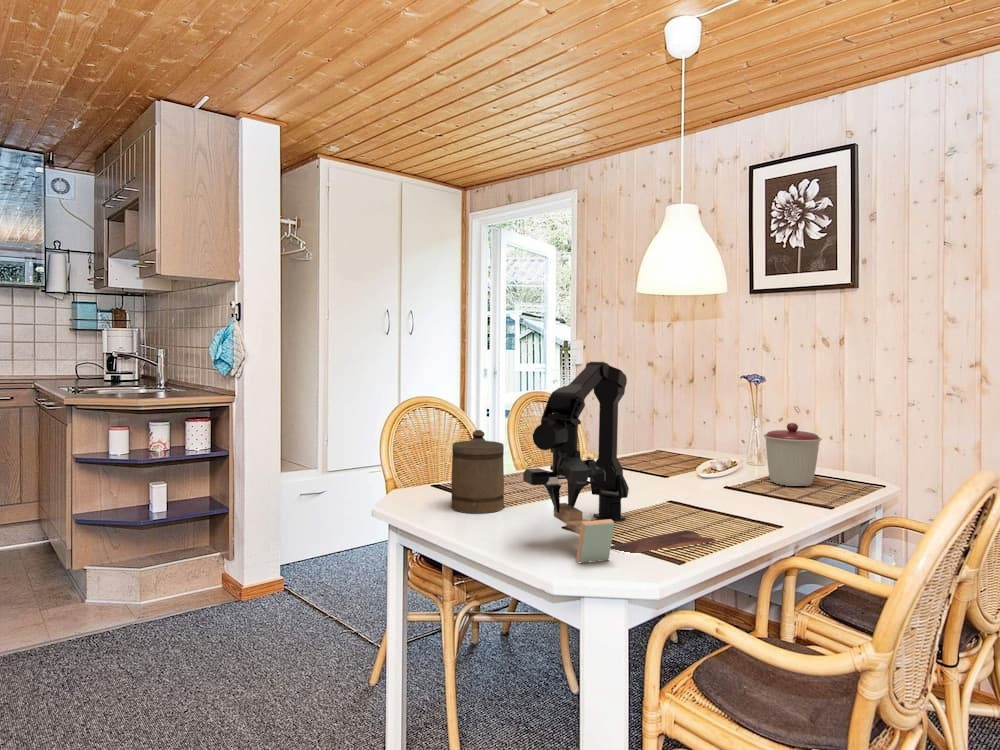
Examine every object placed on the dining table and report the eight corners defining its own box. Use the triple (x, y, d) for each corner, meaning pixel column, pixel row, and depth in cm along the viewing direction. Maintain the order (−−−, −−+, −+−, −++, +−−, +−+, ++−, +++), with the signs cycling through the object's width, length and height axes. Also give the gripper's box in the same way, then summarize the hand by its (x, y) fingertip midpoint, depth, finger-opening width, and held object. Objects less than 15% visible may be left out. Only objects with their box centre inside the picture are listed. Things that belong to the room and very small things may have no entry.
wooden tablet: (631, 554, 139) (603, 537, 148) (630, 564, 139) (602, 546, 148) (719, 539, 152) (689, 524, 160) (718, 548, 152) (688, 532, 161)
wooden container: (483, 499, 194) (484, 426, 193) (514, 509, 182) (515, 431, 181) (441, 505, 185) (442, 429, 184) (470, 516, 173) (471, 435, 172)
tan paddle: (549, 516, 152) (549, 503, 152) (569, 515, 153) (569, 502, 153) (582, 536, 136) (582, 521, 136) (603, 534, 137) (603, 520, 137)
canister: (754, 478, 230) (756, 419, 229) (806, 479, 229) (807, 420, 228) (774, 489, 212) (775, 425, 211) (830, 490, 211) (832, 426, 210)
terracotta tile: (576, 559, 137) (581, 521, 134) (605, 556, 139) (611, 519, 137) (579, 563, 135) (584, 525, 133) (609, 560, 138) (614, 522, 135)
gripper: (541, 451, 139) (540, 523, 140) (618, 448, 145) (616, 517, 146) (522, 444, 150) (521, 511, 150) (594, 442, 156) (593, 506, 156)
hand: (564, 511), depth 150 cm, fingers closed on tan paddle, 3 cm apart
